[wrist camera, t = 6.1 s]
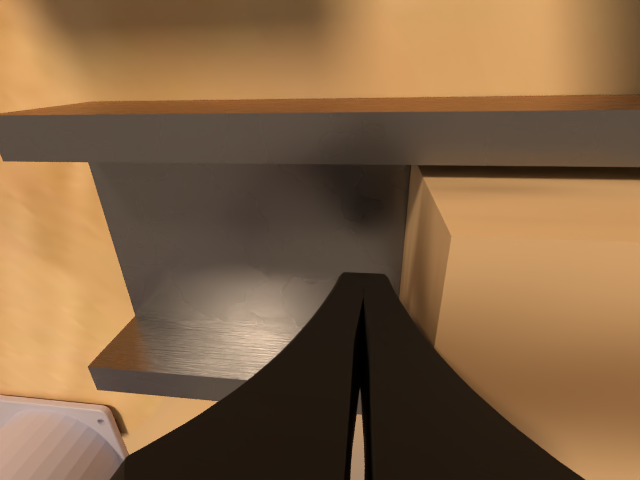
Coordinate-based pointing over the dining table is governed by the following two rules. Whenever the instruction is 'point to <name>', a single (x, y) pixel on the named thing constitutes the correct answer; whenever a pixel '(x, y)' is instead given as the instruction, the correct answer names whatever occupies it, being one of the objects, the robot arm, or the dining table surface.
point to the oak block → (535, 299)
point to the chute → (278, 206)
